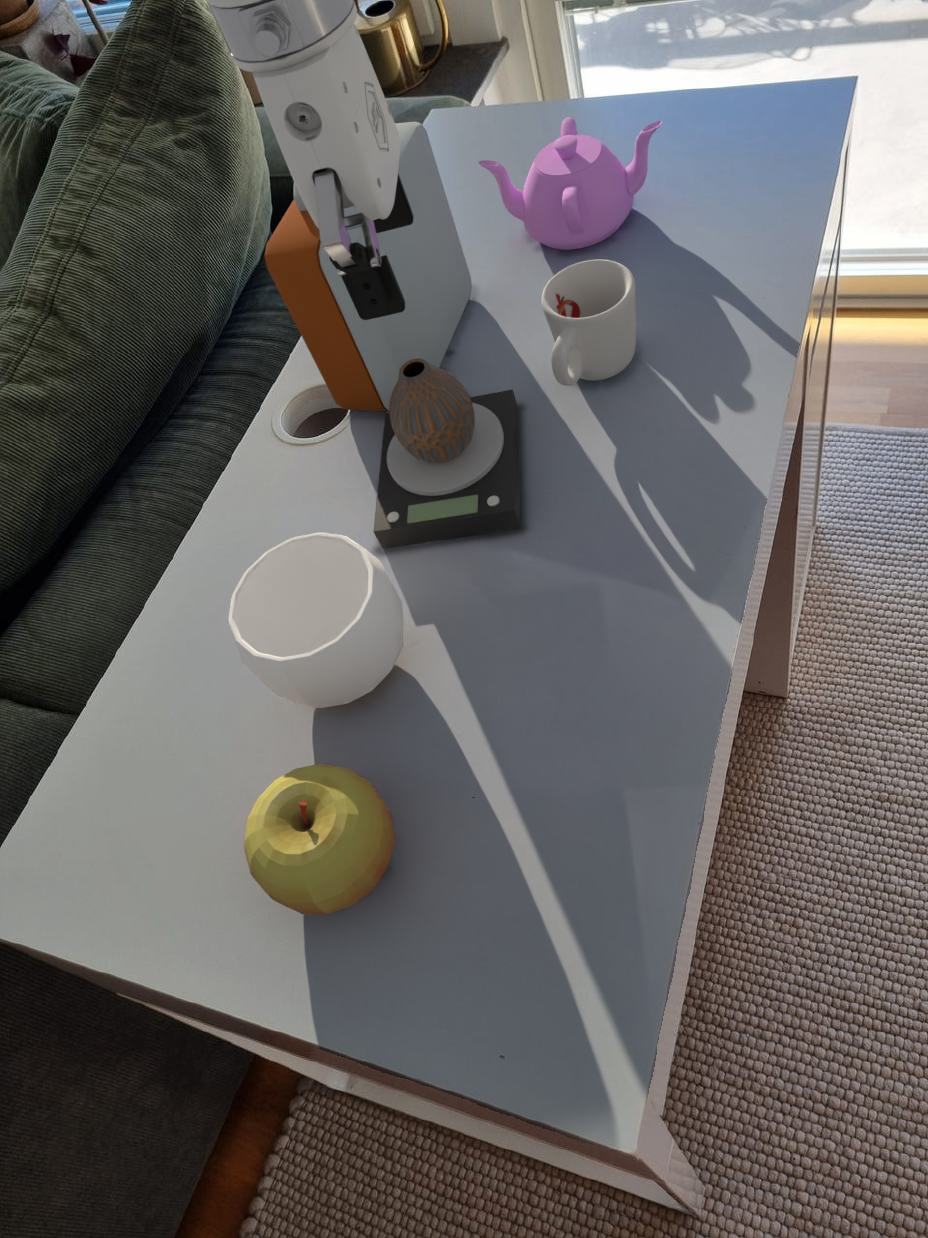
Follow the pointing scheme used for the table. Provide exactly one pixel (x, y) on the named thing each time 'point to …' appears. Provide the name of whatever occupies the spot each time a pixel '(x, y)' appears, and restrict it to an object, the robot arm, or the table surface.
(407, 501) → the scale
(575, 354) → the cup
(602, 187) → the teapot
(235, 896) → the table surface
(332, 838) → the apple
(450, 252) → the alarm clock
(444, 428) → the vase
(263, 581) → the cup
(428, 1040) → the table surface
